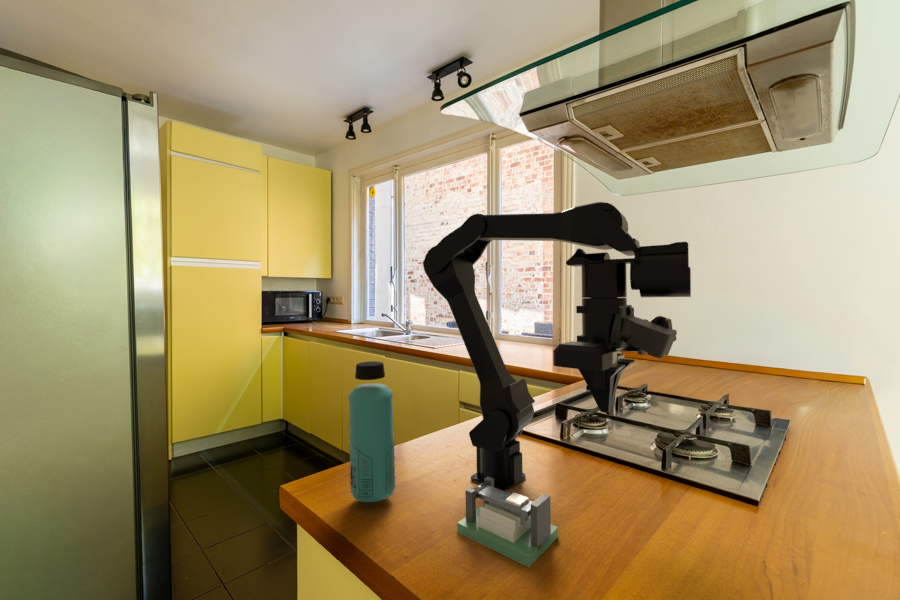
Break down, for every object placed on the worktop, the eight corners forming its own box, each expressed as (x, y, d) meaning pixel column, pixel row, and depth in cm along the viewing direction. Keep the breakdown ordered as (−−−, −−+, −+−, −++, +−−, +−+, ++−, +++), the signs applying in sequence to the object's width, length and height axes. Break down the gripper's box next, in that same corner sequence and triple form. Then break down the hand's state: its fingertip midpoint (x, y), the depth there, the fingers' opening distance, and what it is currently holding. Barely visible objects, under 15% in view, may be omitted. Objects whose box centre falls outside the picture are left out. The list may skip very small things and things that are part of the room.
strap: (470, 497, 51) (470, 487, 51) (482, 490, 53) (481, 480, 53) (527, 519, 45) (527, 508, 45) (538, 510, 47) (537, 499, 47)
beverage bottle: (405, 501, 57) (403, 361, 57) (365, 520, 52) (362, 368, 52) (379, 485, 62) (377, 356, 61) (340, 502, 57) (337, 362, 57)
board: (457, 532, 49) (456, 485, 49) (489, 508, 55) (489, 466, 55) (528, 567, 43) (528, 514, 43) (558, 537, 48) (557, 489, 48)
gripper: (646, 299, 42) (648, 446, 42) (686, 296, 56) (687, 407, 56) (550, 299, 50) (552, 424, 50) (606, 297, 63) (608, 395, 64)
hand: (605, 411), depth 55 cm, fingers closed
